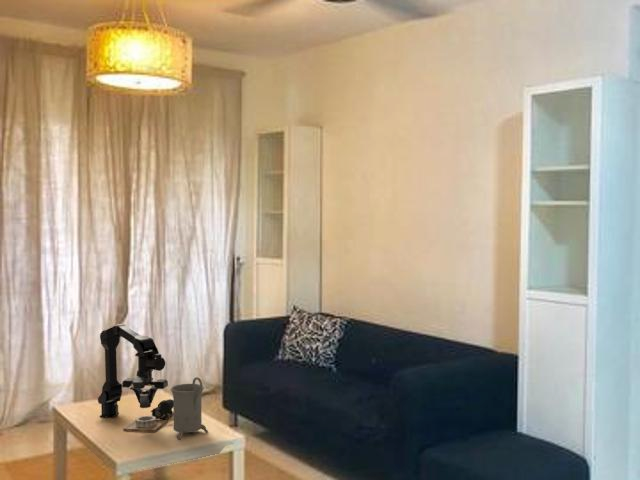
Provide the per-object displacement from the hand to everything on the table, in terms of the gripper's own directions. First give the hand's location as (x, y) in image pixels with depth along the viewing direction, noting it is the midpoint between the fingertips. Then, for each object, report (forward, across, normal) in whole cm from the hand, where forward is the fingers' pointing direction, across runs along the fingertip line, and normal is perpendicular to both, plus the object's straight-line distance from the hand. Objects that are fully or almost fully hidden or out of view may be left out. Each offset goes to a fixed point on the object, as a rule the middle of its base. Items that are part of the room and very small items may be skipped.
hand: (145, 403), depth 289 cm
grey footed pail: (+10, +22, -7) cm, 25 cm away
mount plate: (+10, 0, 0) cm, 10 cm away
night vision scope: (+10, +3, +14) cm, 18 cm away
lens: (+2, 0, 0) cm, 2 cm away
